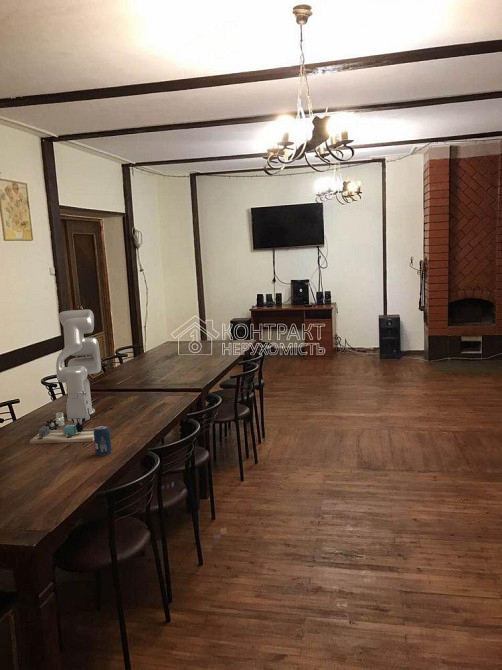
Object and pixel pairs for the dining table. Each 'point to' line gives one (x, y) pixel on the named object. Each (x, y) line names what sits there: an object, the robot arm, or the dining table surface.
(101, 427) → the soda can
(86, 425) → the dining table surface
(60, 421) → the valve
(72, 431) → the sliding block
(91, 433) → the board
